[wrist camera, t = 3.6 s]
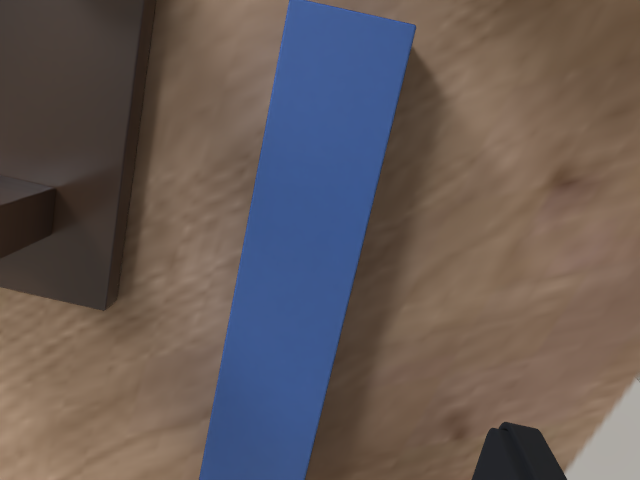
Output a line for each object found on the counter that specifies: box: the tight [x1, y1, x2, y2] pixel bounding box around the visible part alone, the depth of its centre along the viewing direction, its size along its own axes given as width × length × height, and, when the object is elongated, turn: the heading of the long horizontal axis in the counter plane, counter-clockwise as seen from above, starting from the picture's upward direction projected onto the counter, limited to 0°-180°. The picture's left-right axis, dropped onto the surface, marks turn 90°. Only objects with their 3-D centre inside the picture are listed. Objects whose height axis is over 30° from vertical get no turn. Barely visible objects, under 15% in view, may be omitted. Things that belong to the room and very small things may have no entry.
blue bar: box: [199, 0, 416, 480], centre depth 18 cm, size 3×16×3 cm, turn 168°
